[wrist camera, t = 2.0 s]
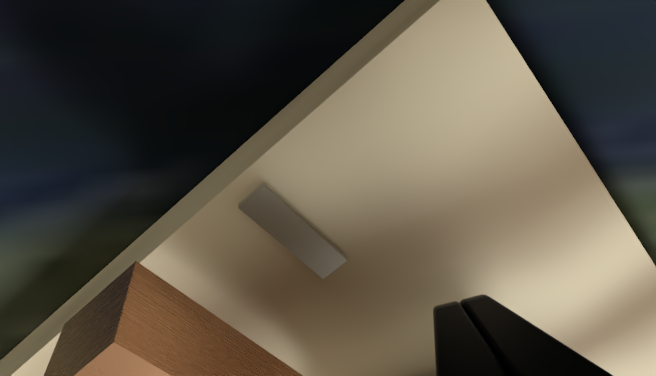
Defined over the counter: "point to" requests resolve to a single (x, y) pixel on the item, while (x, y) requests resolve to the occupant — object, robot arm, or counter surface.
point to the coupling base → (401, 214)
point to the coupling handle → (155, 336)
